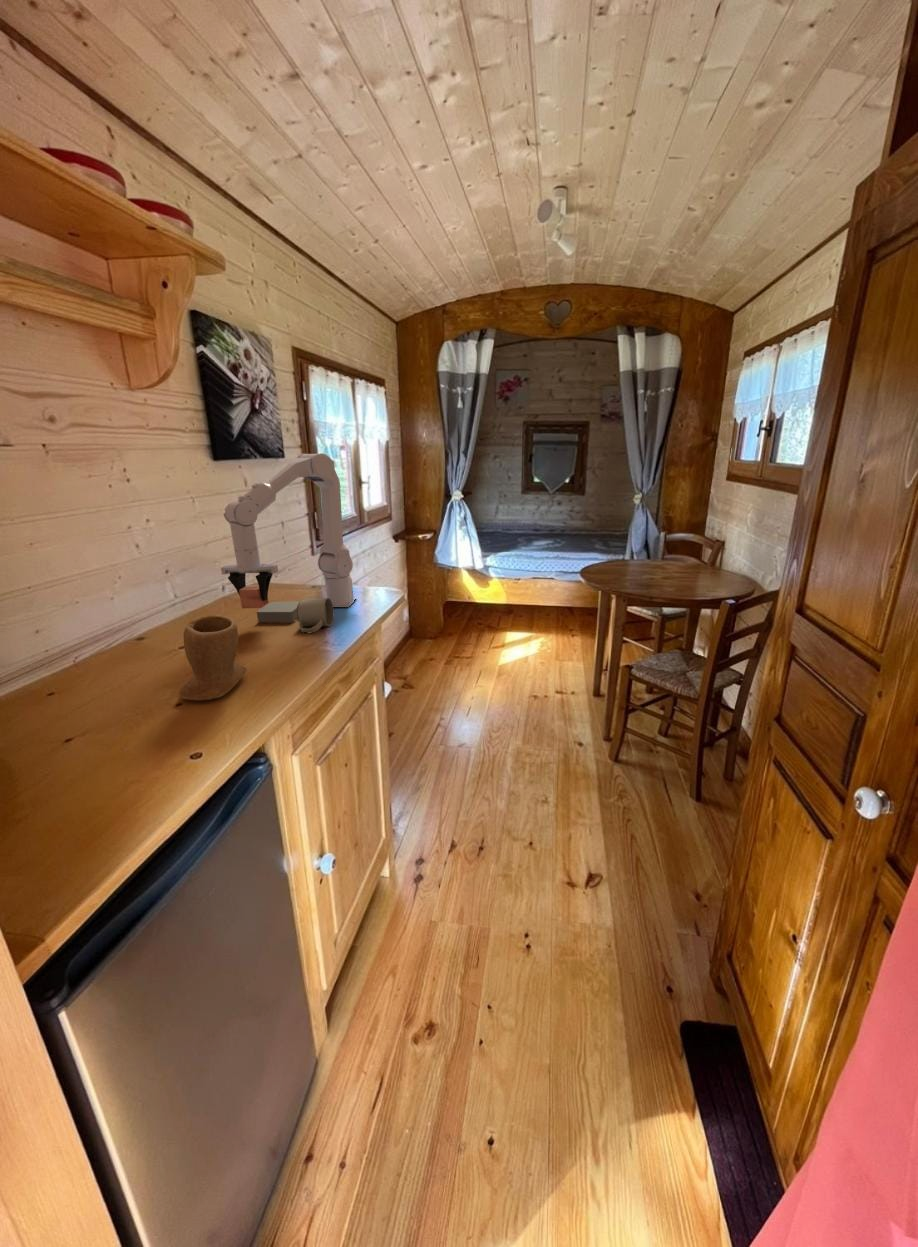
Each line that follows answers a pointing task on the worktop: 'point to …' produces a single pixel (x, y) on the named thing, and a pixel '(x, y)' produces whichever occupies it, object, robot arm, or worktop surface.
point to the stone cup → (211, 657)
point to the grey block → (278, 612)
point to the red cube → (251, 597)
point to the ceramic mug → (315, 613)
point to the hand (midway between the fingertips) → (254, 599)
